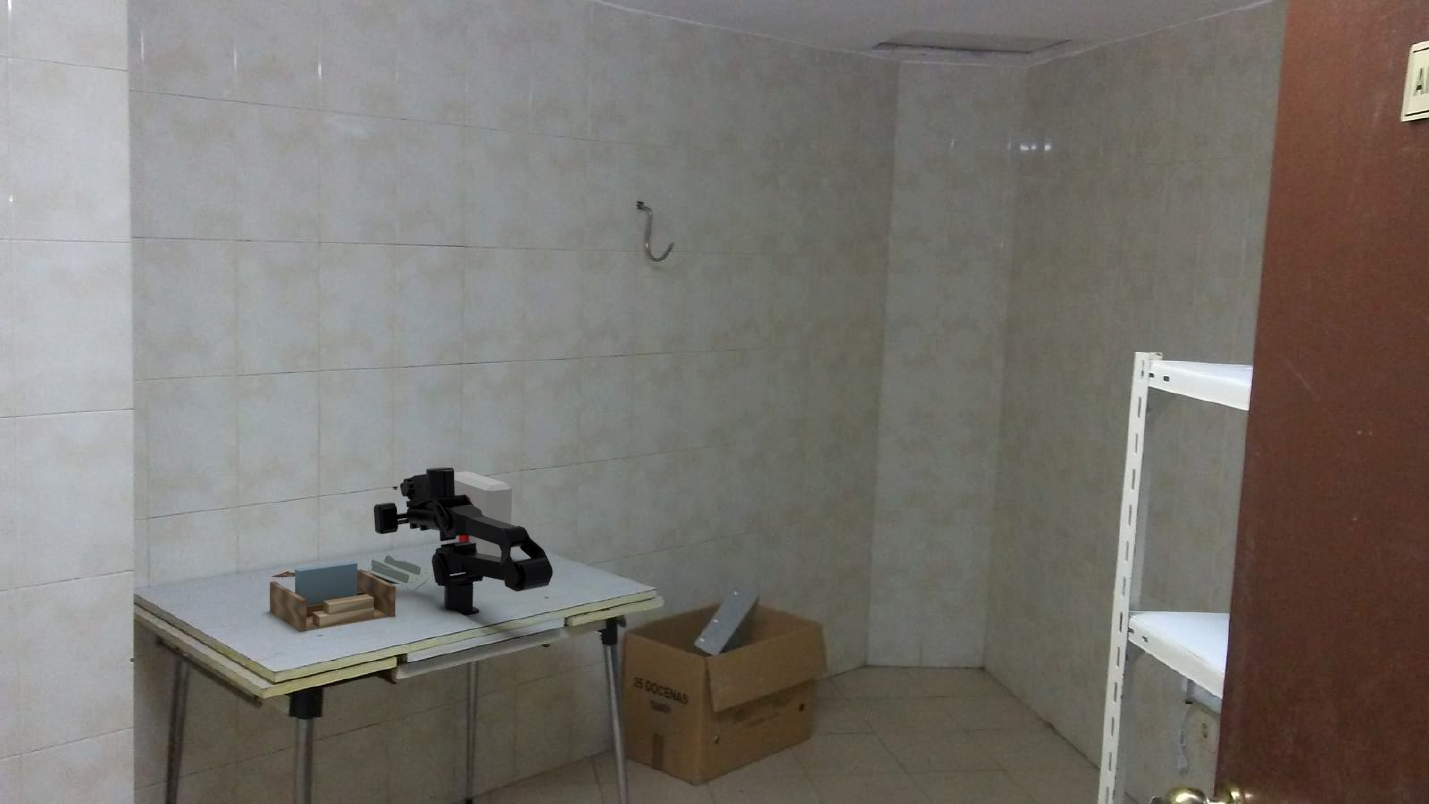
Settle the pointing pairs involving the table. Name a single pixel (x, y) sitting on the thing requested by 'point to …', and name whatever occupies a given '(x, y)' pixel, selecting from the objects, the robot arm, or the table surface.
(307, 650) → the table surface
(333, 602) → the upper offcut
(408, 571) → the metal bracket
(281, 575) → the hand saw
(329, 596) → the panel
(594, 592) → the table surface
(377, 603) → the rack
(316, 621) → the lower offcut
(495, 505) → the bevelled white case
